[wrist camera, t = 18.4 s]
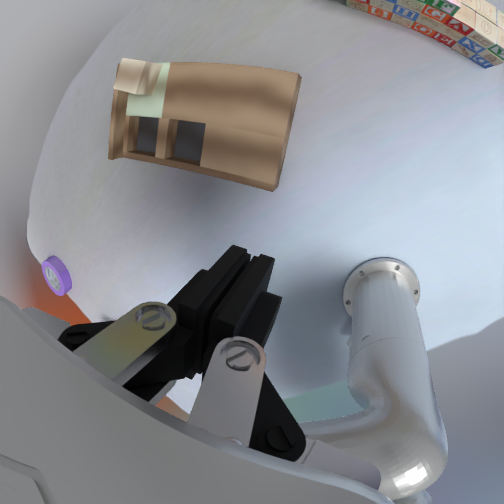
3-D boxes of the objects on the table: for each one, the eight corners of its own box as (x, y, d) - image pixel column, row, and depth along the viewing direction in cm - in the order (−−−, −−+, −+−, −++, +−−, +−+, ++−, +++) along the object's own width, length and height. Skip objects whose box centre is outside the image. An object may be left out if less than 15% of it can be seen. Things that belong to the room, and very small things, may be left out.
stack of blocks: (488, 37, 17) (528, 17, 7) (485, 69, 20) (529, 56, 10) (352, -23, 21) (349, -69, 10) (344, 7, 24) (341, -37, 13)
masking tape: (68, 263, 65) (58, 269, 62) (75, 295, 71) (67, 302, 67) (47, 250, 67) (38, 256, 64) (54, 281, 73) (46, 287, 70)
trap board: (277, 187, 38) (267, 196, 34) (129, 153, 44) (108, 159, 39) (301, 77, 31) (294, 69, 26) (140, 66, 36) (118, 63, 31)
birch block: (152, 94, 35) (135, 94, 31) (130, 88, 35) (113, 88, 32) (162, 64, 32) (145, 61, 29) (139, 60, 33) (122, 57, 29)
